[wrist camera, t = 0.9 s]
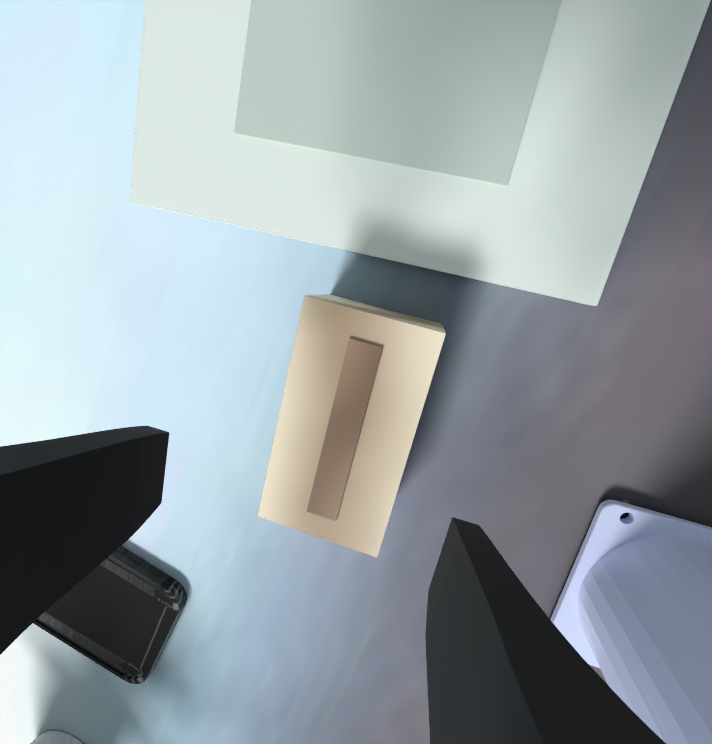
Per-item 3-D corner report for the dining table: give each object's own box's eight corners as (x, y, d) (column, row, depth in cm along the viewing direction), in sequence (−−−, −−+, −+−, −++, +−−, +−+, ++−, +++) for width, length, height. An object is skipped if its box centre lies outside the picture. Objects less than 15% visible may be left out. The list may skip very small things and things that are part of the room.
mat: (742, -105, 12) (758, -124, 12) (591, 305, 15) (597, 306, 15) (167, -160, 15) (156, -178, 14) (138, 203, 18) (128, 201, 17)
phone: (140, 690, 23) (-65, 562, 24) (153, 672, 24) (-44, 551, 25) (185, 598, 21) (-41, 462, 22) (197, 583, 22) (-19, 453, 23)
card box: (442, 323, 17) (445, 334, 13) (387, 503, 19) (376, 558, 15) (331, 294, 17) (303, 295, 13) (291, 471, 20) (256, 517, 16)
